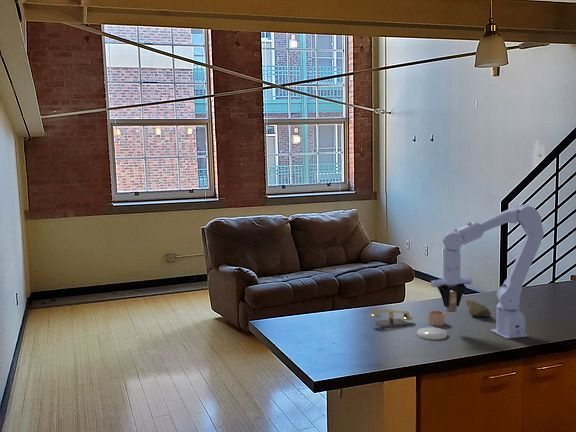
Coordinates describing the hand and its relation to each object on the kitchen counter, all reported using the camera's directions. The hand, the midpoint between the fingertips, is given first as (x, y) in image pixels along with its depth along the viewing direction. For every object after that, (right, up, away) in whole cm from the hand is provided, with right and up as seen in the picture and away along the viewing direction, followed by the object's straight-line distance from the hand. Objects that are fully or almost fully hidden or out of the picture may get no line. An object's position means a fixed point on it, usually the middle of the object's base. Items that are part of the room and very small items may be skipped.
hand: (451, 306), depth 203 cm
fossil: (+15, -7, +19) cm, 25 cm away
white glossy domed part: (-7, -10, -3) cm, 12 cm away
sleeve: (-2, -8, +11) cm, 14 cm away
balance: (-19, -8, +11) cm, 23 cm away
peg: (0, -2, 0) cm, 2 cm away
